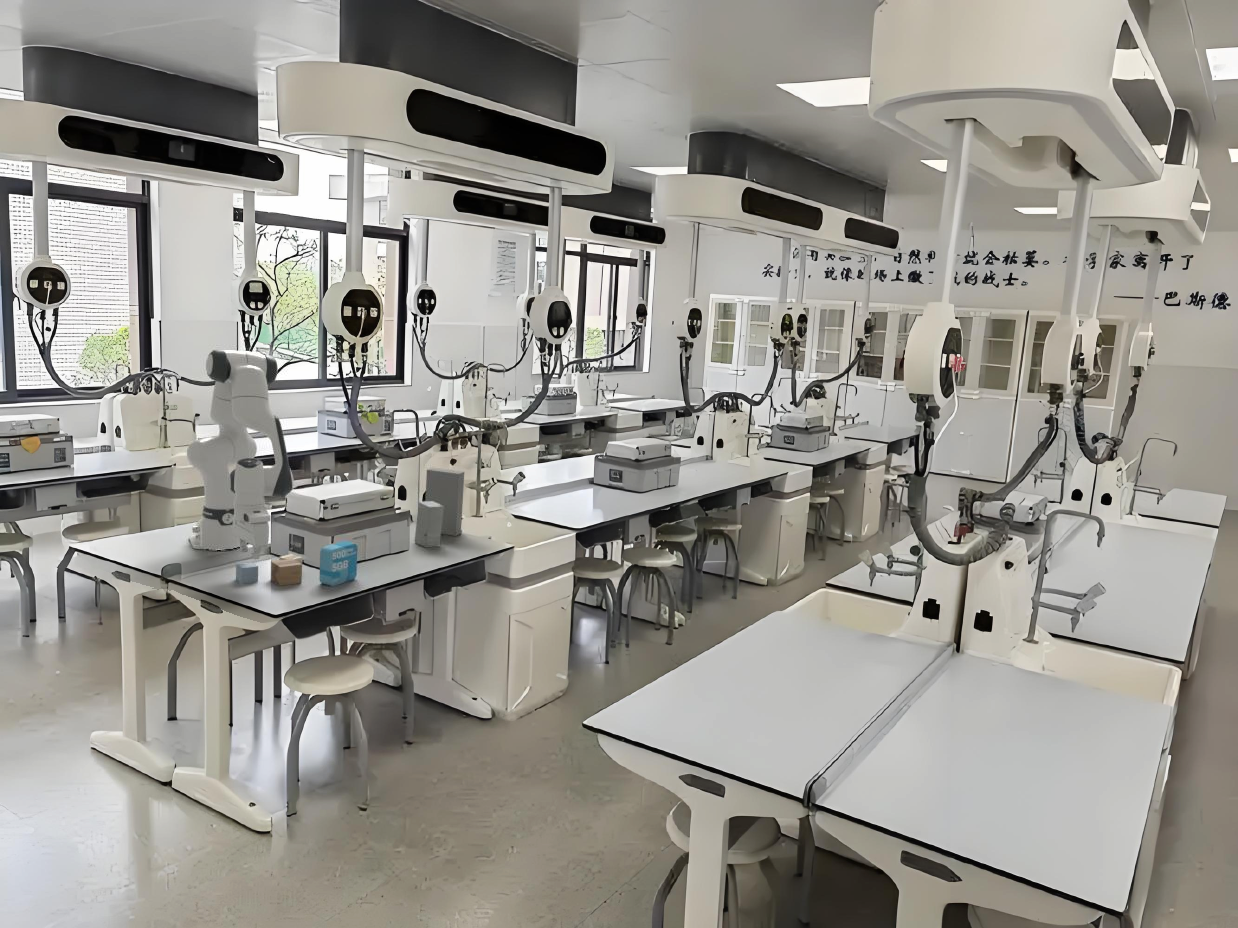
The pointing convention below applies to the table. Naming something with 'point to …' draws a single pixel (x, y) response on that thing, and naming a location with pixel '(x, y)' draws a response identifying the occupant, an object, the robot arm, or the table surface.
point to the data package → (338, 563)
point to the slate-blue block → (247, 572)
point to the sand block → (291, 557)
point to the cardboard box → (286, 572)
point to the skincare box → (429, 524)
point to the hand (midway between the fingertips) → (249, 555)
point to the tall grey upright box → (447, 497)
